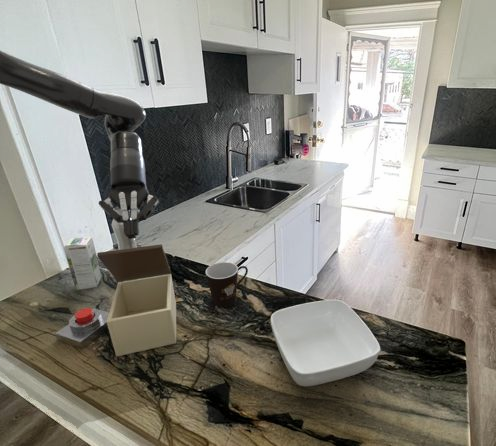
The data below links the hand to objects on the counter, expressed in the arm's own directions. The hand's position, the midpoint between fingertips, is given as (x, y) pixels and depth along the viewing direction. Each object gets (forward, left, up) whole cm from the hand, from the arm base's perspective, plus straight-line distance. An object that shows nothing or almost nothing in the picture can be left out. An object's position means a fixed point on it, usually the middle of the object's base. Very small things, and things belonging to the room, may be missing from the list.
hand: (131, 237), depth 71 cm
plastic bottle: (+22, +28, -24) cm, 43 cm away
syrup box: (+8, +30, -24) cm, 39 cm away
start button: (-7, +12, -21) cm, 25 cm away
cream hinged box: (-1, -1, -24) cm, 24 cm away
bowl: (+5, -44, -24) cm, 51 cm away
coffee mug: (+16, -14, -24) cm, 32 cm away
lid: (0, 0, -8) cm, 8 cm away
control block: (-7, +12, -24) cm, 28 cm away
